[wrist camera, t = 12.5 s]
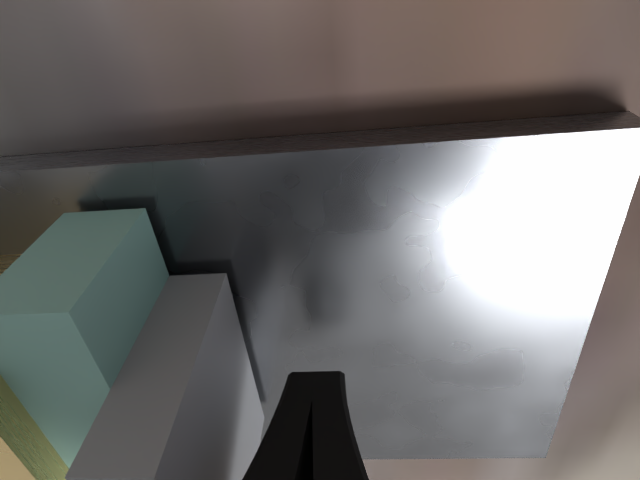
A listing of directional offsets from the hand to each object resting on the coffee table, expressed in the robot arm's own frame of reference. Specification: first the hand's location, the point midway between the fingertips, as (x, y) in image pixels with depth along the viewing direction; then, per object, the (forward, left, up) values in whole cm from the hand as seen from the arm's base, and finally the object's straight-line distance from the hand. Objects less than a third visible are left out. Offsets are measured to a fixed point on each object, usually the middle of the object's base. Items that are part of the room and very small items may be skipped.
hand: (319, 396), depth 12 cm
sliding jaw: (+4, 0, -2) cm, 4 cm away
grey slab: (+3, 0, -3) cm, 4 cm away
